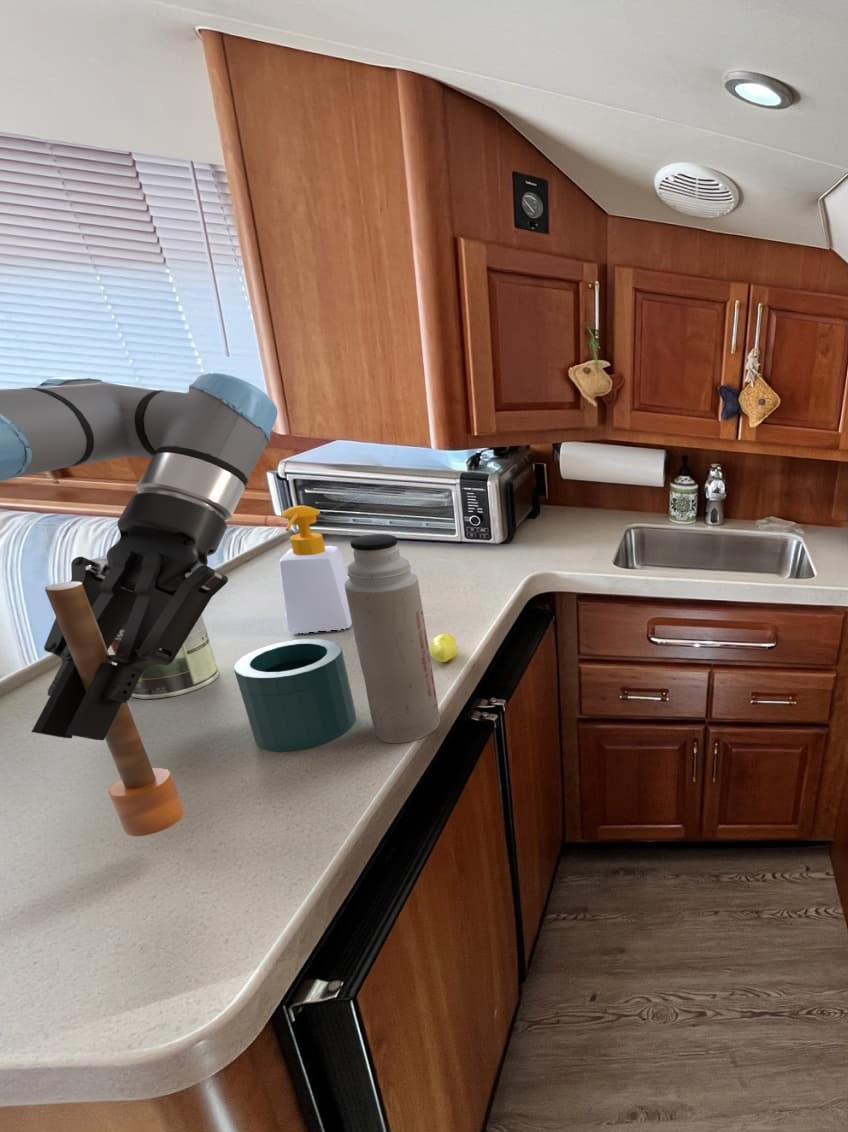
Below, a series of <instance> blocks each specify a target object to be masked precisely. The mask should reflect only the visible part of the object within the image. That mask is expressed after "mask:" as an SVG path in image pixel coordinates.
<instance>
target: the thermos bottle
mask: <svg viewBox="0 0 848 1132" xmlns="http://www.w3.org/2000/svg"><path fill="white" fill-rule="evenodd" d="M349 543H350V547H351V548H352V549H353V551H352V555H353V559H354V560H353V561H351V562H349V564H348V565H347V574H348V577H349V579H348V580H347V581H346V582H345V591H346V596H347V601H348V606H349V611H350V616H351V621H352V624H351V626H352V631H353V634H354V639H355V644H356V649H357V654H358V659H359V663H360V668H361V673H362V676H363V679H364V683H365V684H364V685H365V690H366V697H367V703H368V708H369V712H370V717H371V721H372V726H373V732H374V735H375V737H376V739H378V740H379V741H381V742H384V743H389V744H401V743H402V744H403V743H408V742H413V741H416V739H417V740H419V739H418V738H420V737H422V736H424V737H427V736H428V735H430V734H432V733H433V732H435V731H436V730H437V728H439V726H440V723H441V717H440V710H439V703H438V698H437V691H436V690H437V689H436V686H435V685H436V684H435V679H434V671H433V666H432V659H431V654H430V645H429V640H428V634H427V628H426V622H425V616H424V609H423V602H422V597H421V590H420V585H419V578H418V575H417V574H415V573H414V572H412V571H411V569H412V566H411V565H410V561H409V560H408V559H407V558H405V557H404V556H401V555H400V554H401V553H400V549H399V546H398V540H397V537H396V536H395V535H392V534H387V533H373V534H364V535H359V536H356V537H353V538H352V539H350V541H349ZM422 738H423V737H422ZM420 739H421V738H420Z"/></svg>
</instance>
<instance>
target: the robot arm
mask: <svg viewBox="0 0 848 1132" xmlns="http://www.w3.org/2000/svg"><path fill="white" fill-rule="evenodd" d="M277 419H278V407H277V406H276V404H275V402H274V401H273V400H272V399H271V398H270V397H269V396H268V394H267V393H265V392H264V391H263V390H261V389H260V388H258V387H257V386H255V385H254V384H252V383H250V382H248V381H245V380H244V379H241V378H238V377H237V376H233V375H229V374H226V373H220V372H208V373H205V374H200V375H198V376H196V377H195V380H194V381H193V382H192V383H191V384H189V385H188V391H178V390H165V389H158V388H151V387H144V386H143V387H142V386H136V385H129V384H122V383H116V382H110V381H104V380H101V379H97V378H91V377H87V378H73V377H63V376H61V377H59V376H57V377H52V378H48V379H46V380H43V382H41V383H40V384H39V385H37V386H35V387H21V388H2V389H0V483H1V482H5V481H9V480H11V479H17V478H21V477H25V476H32V475H36V474H40V473H46V472H51V471H55V470H56V471H57V470H61V469H66V468H72V467H77V466H84V465H88V464H89V465H90V464H93V463H98V462H105V461H110V460H115V459H121V458H142V459H150V462H149V463H148V465H147V467H146V468H145V470H144V472H143V474H142V475H141V477H140V479H139V480H138V482H137V484H136V487H135V491H136V492H137V494H133V495H132V496H131V497H130V498H129V500H128V502H127V504H126V506H125V507H124V509H123V511H122V513H121V514H120V516H119V518H118V521H117V523H116V525H117V528H118V532H119V534H120V537H119V538H118V539H119V540H118V541H117V542H116V543H114V544H113V546H111V547H110V548H109V549H108V550H107V552H106V555H103V556H99V557H96V558H93V559H89V558H86V557H84V556H77V557H75V558H74V559H72V561H71V563H70V571H71V579H70V581H69V582H81V583H82V584H83V587H84V589H85V592H86V595H87V597H88V600H89V603H90V605H91V608H92V611H93V613H94V616H95V619H96V621H97V624H98V626H99V629H100V632H101V634H102V637H103V640H104V642H105V645H106V648H107V650H108V651H109V649H110V648H111V644H112V642H113V641H114V639H115V638H116V636H117V635H118V633H119V631H120V630H121V628H122V627H123V625H124V623H125V622H126V620H127V619H128V617H129V616H130V617H129V620H128V622H127V625H126V628H125V630H124V633H123V636H122V638H121V641H120V643H119V646H118V649H117V651H116V654H115V655H114V654H109V655H106V659H107V660H108V661H111V662H112V664H110V663H101V665H100V667H99V669H98V671H97V673H96V674H95V676H94V678H93V680H92V682H91V684H90V686H89V688H88V690H87V692H86V690H85V688H84V685H83V683H82V680H81V678H80V675H79V673H78V670H77V668H76V665H75V663H74V660H73V658H72V656H71V653H70V651H69V648H68V646H67V643H66V641H65V638H64V636H63V633H62V631H61V628H60V626H59V623H58V621H57V618H56V617H55V619H54V621H53V624H52V626H51V629H50V631H49V633H48V636H47V639H46V641H45V643H44V646H43V650H44V651H45V652H47V653H50V654H53V655H55V656H56V657H59V658H60V659H61V665H60V666H59V669H58V670H57V672H56V674H55V676H54V678H53V680H52V681H51V684H50V685H49V688H48V689H47V696H49V698H48V699H47V702H46V704H45V705H44V707H43V709H42V711H41V713H40V715H39V717H38V719H37V720H36V722H35V724H34V726H33V727H32V730H31V733H34V734H39V735H44V736H50V737H56V738H63V739H72V738H73V736H74V737H79V738H82V739H83V738H84V739H90V740H94V741H105V737H106V735H107V733H108V731H109V729H110V726H111V724H112V722H113V720H114V718H115V716H116V714H117V712H118V710H119V708H120V706H121V704H122V703H126V702H127V703H128V701H129V700H130V699H131V697H132V696H131V695H132V693H133V691H134V689H135V687H136V685H137V683H138V681H139V679H140V677H141V674H142V673H143V671H145V670H147V669H148V668H150V667H151V666H156V665H163V666H166V665H169V664H171V663H172V662H173V660H174V659H175V657H176V655H177V654H178V652H179V650H180V649H181V647H182V645H183V644H184V642H185V640H186V639H187V637H188V635H189V634H190V632H191V631H192V629H193V627H194V626H195V624H196V622H197V621H198V619H199V617H200V616H201V614H202V615H203V613H204V611H205V609H206V607H207V606H208V604H209V603H210V602H211V601H210V600H211V599H212V597H214V595H216V594H217V593H218V592H219V591H220V590H221V589H222V588H223V587H224V586H225V585H226V584H227V583H228V582H229V578H228V576H227V575H225V574H223V573H221V572H219V571H217V570H215V569H214V568H212V567H210V566H208V563H209V561H208V557H210V556H212V555H214V554H216V552H217V551H218V549H219V547H220V544H221V542H222V540H223V538H224V535H225V533H226V531H227V529H228V524H227V523H226V522H228V521H230V520H231V519H232V517H233V515H234V513H235V511H236V508H237V506H238V505H239V502H240V500H241V498H242V496H243V493H244V491H245V489H246V487H247V484H248V483H249V481H248V480H249V479H250V476H251V474H252V472H253V471H254V469H255V468H256V465H257V464H258V461H259V460H260V458H261V456H262V454H263V452H264V451H265V448H266V446H267V445H268V443H269V442H270V441H271V434H272V431H273V428H274V426H275V424H276V421H277ZM130 591H131V592H130ZM160 648H162V650H159V649H160ZM136 650H137V651H136ZM113 663H115V664H113Z"/></svg>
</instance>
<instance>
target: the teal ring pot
mask: <svg viewBox="0 0 848 1132" xmlns="http://www.w3.org/2000/svg"><path fill="white" fill-rule="evenodd" d="M347 670H348V669H347V666H346V661H345V656H344V652H343V648H342V646H341V645H340V644H339V643H338V642H336V641H333V640H329V639H324V638H323V639H322V638H301V639H292V640H286V641H281V642H277V643H272V644H269V645H266V646H263V647H260V648H256V649H254V650H252V651H251V652H249V653H247V654H245V655H243V656H242V657H240V658H239V659H238V660H237V661H236V662H235V664H234V667H233V671H234V675H235V678H236V680H237V684H238V689H239V692H240V695H241V698H242V701H243V705H244V709H245V712H246V715H247V719H248V723H249V726H250V729H251V732H252V736H253V738H254V741H255V744H256V745H257V746H258V747H259V748H261V749H262V750H266V751H270V752H294V751H301V750H306V749H310V748H314V747H317V746H320V745H323V744H326V743H328V742H332V741H333V740H335V739H337V738H339V737H341V736H342V735H344V734H345V733H347V732H348V731H349V730H351V728H352V727H353V726H354V724H355V723H356V720H357V715H356V708H355V703H354V699H353V693H352V690H351V689H352V688H351V684H350V680H349V676H348V671H347Z"/></svg>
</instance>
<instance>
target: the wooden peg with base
mask: <svg viewBox="0 0 848 1132" xmlns="http://www.w3.org/2000/svg"><path fill="white" fill-rule="evenodd" d="M44 591H45V594H46V596H47V598H48V600H49V604H50V606H51V609H52V610H53V613H54V615H55V619H56V618H57V621H58V623H59V626H60V628H61V631H62V633H63V636H64V638H65V641H66V643H67V646H68V648H69V651H70V653H71V656H72V658H73V660H74V663H75V665H76V668H77V670H78V673H79V675H80V678H81V680H82V683H83V685H84V688H85V690H86V692H87V690H88V688H89V686H90V684H91V682H92V680H93V678H94V676H95V674H96V673H97V671H98V669H99V667H100V665H101V663H110V664H113V662H111V661H108V660H107V659H106V655H110V653H109V649H108V650H107V648H106V645H105V642H104V640H103V637H102V634H101V632H100V629H99V626H98V624H97V621H96V619H95V616H94V613H93V611H92V608H91V605H90V603H89V600H88V597H87V595H86V592H85V589H84V587H83V584H82V583H81V582H70V581H63V582H57V583H52V584H50V585H47V586H46V587H44ZM104 741H105V742H106V744H107V747H108V750H109V752H110V755H111V757H112V760H113V762H114V764H115V766H116V770H117V772H118V774H119V777H120V779H118V780H116V781H115V782H113V783H112V784H111V786H110V787H109V788H108V795H109V797H110V800H111V802H112V804H113V807H114V809H115V811H116V814H117V816H118V819H119V821H120V824H121V826H122V828H123V830H124V833H125V834H126V835H127V836H130V837H145V836H150V835H154V834H157V833H160V832H162V831H165V830H167V829H169V828H171V827H172V826H174V825H176V824H177V823H178V822H180V821H181V819H182V818H183V817H184V816H185V809H184V806H183V803H182V799H181V798H180V796H179V792H178V790H177V787H176V784H175V781H174V778H173V776H172V774H171V771H170V770H168V769H167V768H160V767H155V768H153V767H152V764H151V762H150V758H149V757H148V753H147V750H146V749H145V745H144V744H143V741H142V738H141V735H140V733H139V730H138V727H137V723H136V722H135V719H134V717H133V714H132V711H131V709H130V706H129V704H128V701H127V702H126V703H122V704H121V706H120V708H119V710H118V712H117V714H116V716H115V718H114V720H113V722H112V724H111V726H110V729H109V731H108V733H107V735H106V737H105V739H104Z"/></svg>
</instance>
